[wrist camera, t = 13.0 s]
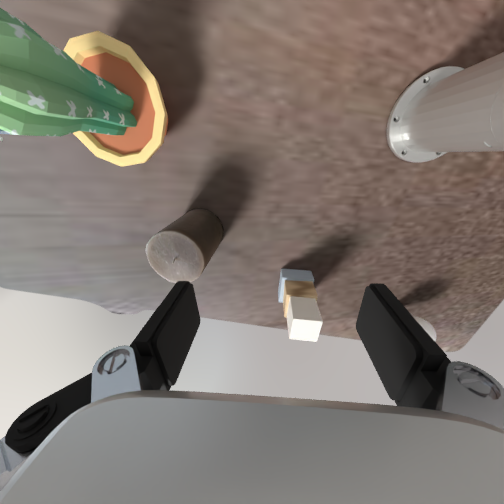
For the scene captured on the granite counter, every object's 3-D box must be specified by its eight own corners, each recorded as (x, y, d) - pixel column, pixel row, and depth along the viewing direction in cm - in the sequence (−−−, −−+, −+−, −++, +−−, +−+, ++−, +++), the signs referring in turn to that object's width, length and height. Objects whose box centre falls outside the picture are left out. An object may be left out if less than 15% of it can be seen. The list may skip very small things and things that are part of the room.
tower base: (310, 270, 46) (314, 280, 43) (305, 293, 49) (308, 304, 46) (281, 268, 46) (282, 277, 43) (278, 291, 50) (278, 302, 46)
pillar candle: (226, 214, 41) (205, 241, 28) (220, 254, 46) (199, 294, 32) (181, 203, 41) (138, 226, 28) (179, 244, 46) (141, 281, 32)
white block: (315, 298, 39) (322, 321, 33) (310, 317, 41) (316, 341, 35) (289, 296, 39) (293, 318, 33) (286, 314, 41) (289, 338, 36)
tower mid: (312, 281, 43) (317, 295, 38) (309, 302, 45) (313, 318, 41) (284, 280, 43) (286, 294, 39) (283, 301, 46) (284, 317, 41)
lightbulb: (375, 306, 49) (402, 344, 39) (399, 291, 47) (434, 328, 37) (390, 319, 51) (420, 359, 41) (414, 306, 48) (451, 344, 38)
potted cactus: (89, 53, 31) (-359, -200, 9) (184, 64, 31) (-34, -170, 9) (110, 159, 38) (-112, 166, 16) (187, 169, 38) (72, 189, 16)
